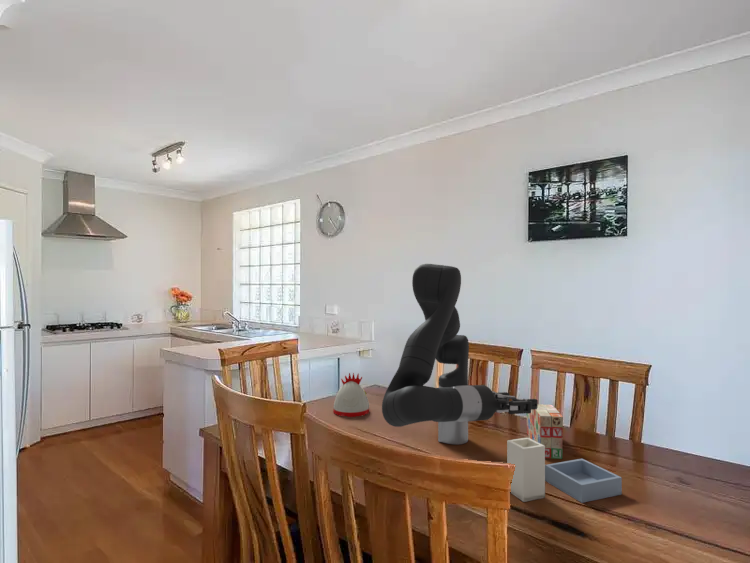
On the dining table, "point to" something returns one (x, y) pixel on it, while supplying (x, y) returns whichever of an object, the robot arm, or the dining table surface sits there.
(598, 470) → the slate crate
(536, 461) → the cream caddy
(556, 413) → the stack of blocks
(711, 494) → the dining table surface
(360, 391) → the kitchen timer
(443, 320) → the robot arm
